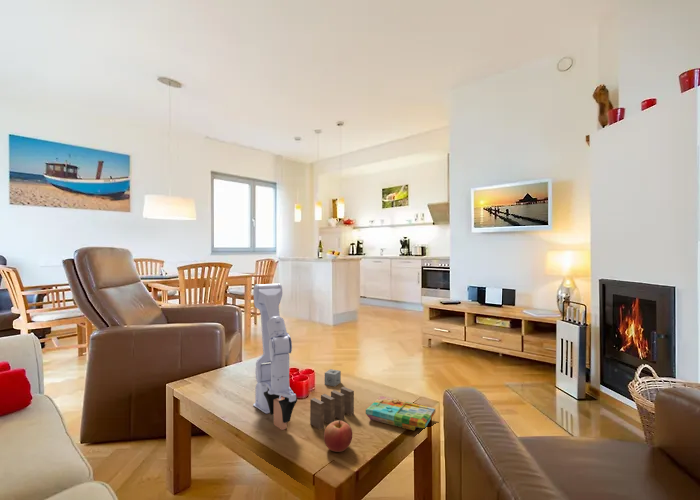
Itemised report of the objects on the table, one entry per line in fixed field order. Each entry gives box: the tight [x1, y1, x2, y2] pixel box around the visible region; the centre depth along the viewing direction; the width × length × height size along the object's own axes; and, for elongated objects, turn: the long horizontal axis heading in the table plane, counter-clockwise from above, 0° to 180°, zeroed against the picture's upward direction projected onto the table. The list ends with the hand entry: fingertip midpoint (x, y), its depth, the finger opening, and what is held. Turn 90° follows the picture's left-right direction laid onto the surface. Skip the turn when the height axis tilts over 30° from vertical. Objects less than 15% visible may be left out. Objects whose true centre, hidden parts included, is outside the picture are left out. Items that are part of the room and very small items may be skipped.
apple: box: [323, 419, 353, 453], centre depth 96 cm, size 8×8×8 cm
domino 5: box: [340, 386, 355, 417], centre depth 118 cm, size 2×5×8 cm, turn 44°
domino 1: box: [273, 398, 288, 431], centre depth 109 cm, size 2×5×8 cm, turn 44°
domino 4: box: [330, 389, 345, 421], centre depth 115 cm, size 2×5×8 cm, turn 44°
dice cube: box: [324, 368, 342, 387], centre depth 144 cm, size 5×5×5 cm
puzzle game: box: [365, 395, 437, 432], centre depth 113 cm, size 12×5×20 cm
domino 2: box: [309, 397, 325, 431], centre depth 109 cm, size 2×5×8 cm, turn 44°
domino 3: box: [320, 393, 336, 425], centre depth 112 cm, size 2×5×8 cm, turn 44°
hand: (280, 417), depth 108 cm, fingers open, 7 cm apart
